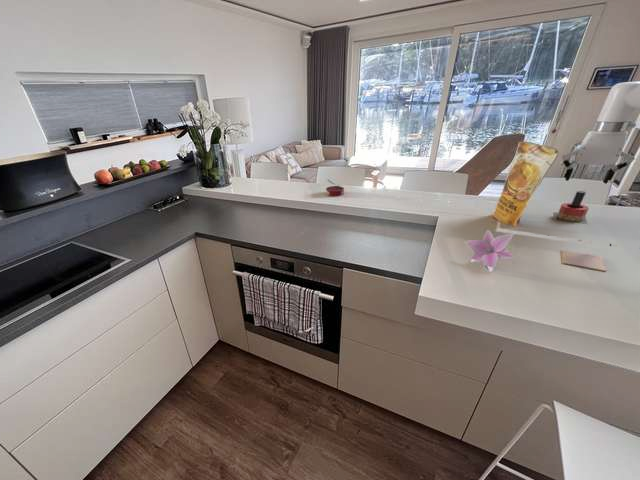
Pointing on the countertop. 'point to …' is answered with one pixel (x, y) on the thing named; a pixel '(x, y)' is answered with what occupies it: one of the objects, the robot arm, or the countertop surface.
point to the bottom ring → (570, 217)
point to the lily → (490, 248)
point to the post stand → (574, 206)
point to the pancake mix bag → (523, 180)
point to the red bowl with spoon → (334, 190)
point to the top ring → (573, 210)
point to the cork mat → (583, 260)
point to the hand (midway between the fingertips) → (585, 181)
